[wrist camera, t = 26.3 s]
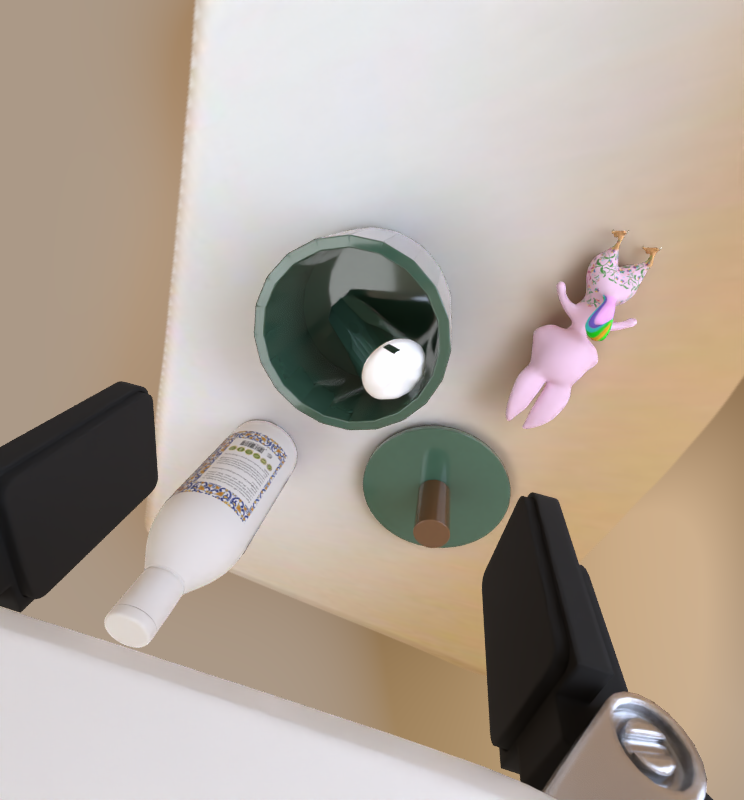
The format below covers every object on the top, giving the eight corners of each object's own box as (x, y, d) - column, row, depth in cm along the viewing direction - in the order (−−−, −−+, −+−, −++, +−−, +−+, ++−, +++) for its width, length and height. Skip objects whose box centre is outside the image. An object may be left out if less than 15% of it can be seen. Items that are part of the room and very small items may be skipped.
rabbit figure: (584, 222, 30) (477, 400, 34) (623, 209, 24) (489, 425, 29) (660, 261, 30) (544, 433, 35) (717, 258, 24) (569, 465, 29)
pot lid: (379, 406, 37) (365, 444, 32) (530, 443, 36) (545, 490, 30) (354, 519, 44) (339, 569, 38) (483, 553, 43) (488, 611, 37)
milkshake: (361, 266, 31) (431, 332, 24) (379, 322, 35) (445, 393, 28) (306, 295, 30) (363, 371, 23) (331, 349, 34) (386, 427, 27)
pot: (306, 211, 32) (260, 214, 24) (471, 247, 31) (476, 262, 23) (291, 364, 37) (249, 405, 30) (429, 397, 36) (422, 449, 29)
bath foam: (228, 414, 41) (54, 579, 23) (296, 421, 40) (169, 599, 22) (237, 473, 44) (88, 659, 26) (300, 481, 43) (191, 680, 25)
